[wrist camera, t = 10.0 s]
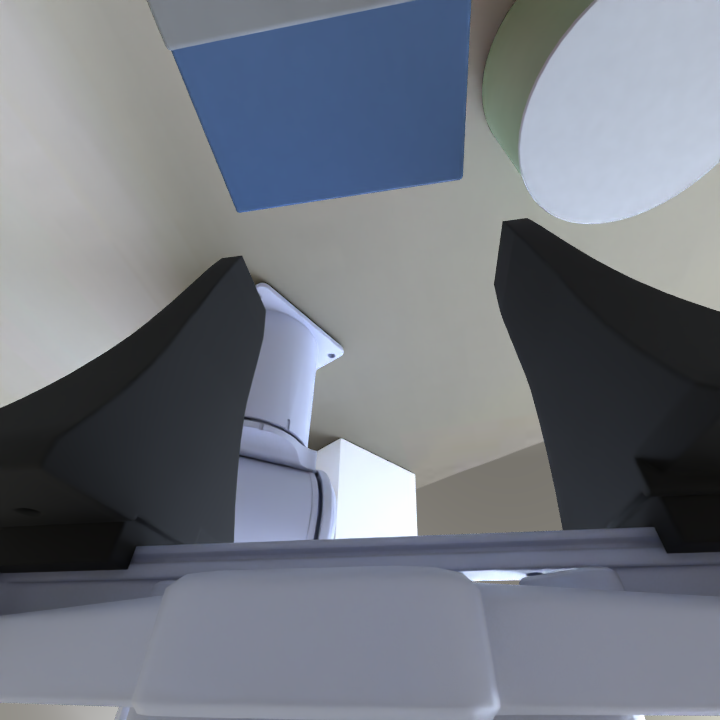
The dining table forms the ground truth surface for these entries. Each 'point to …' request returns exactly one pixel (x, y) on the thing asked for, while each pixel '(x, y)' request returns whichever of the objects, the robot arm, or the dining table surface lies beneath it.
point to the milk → (368, 493)
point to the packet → (324, 92)
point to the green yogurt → (606, 101)
